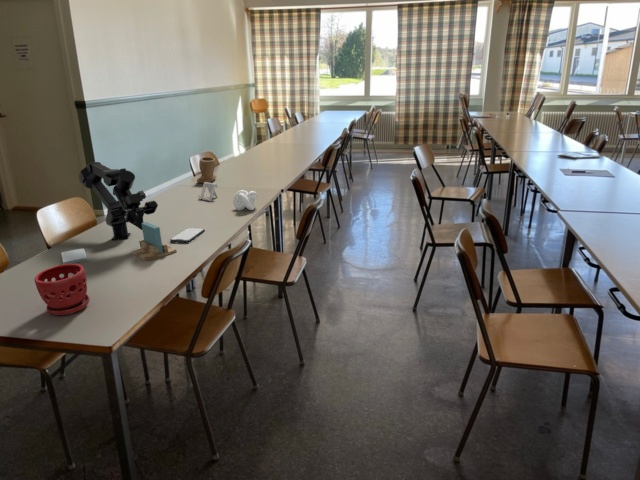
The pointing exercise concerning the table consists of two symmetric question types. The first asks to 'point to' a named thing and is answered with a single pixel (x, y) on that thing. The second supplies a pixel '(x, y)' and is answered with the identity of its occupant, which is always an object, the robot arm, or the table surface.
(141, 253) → the stand
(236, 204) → the white knot sculpture
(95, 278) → the table surface
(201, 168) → the stone cup
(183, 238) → the smartphone
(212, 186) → the portable electronic device stand
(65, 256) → the hard drive
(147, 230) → the panel
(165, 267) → the table surface
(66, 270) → the plant pot
